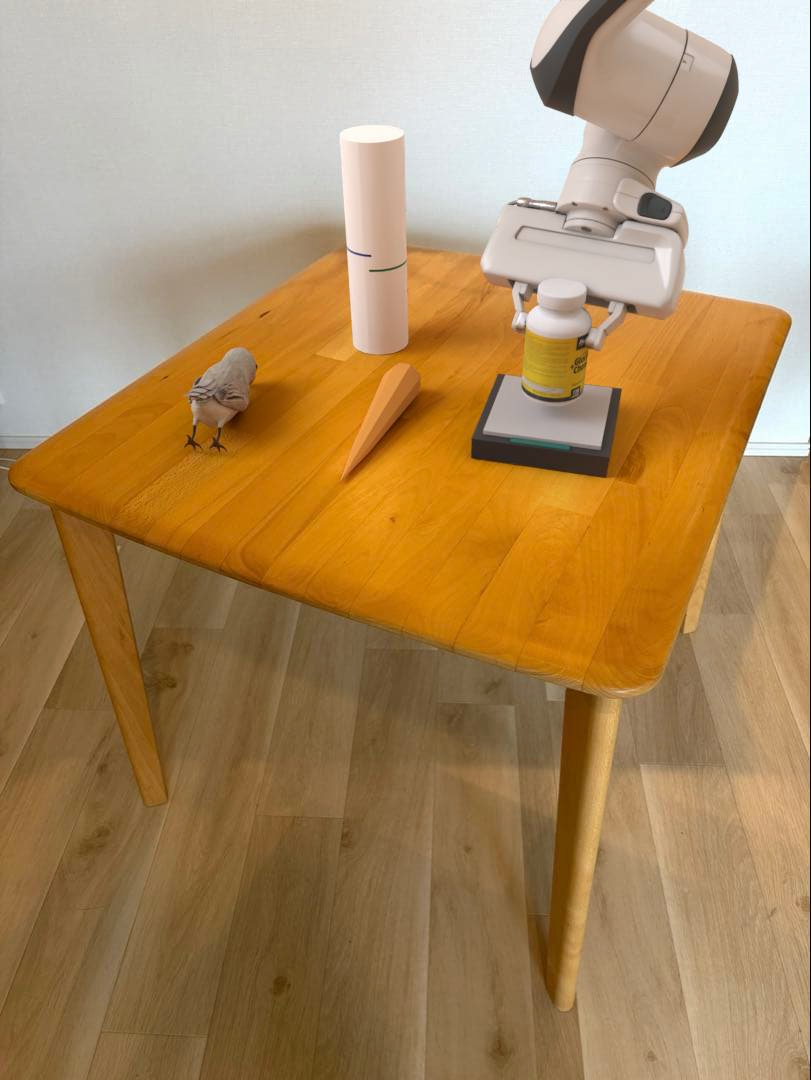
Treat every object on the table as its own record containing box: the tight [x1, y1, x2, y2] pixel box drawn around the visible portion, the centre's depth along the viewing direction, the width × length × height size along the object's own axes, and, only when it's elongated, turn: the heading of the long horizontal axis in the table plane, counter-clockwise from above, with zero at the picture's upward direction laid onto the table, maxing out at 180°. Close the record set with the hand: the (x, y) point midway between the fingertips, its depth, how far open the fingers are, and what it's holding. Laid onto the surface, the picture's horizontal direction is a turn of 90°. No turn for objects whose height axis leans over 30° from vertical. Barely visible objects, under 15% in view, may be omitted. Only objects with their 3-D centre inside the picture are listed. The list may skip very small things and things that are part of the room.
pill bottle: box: [521, 278, 593, 406], centre depth 86 cm, size 6×6×12 cm
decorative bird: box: [182, 346, 258, 454], centre depth 94 cm, size 5×16×8 cm, turn 170°
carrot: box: [339, 362, 422, 483], centre depth 92 cm, size 20×4×4 cm, turn 160°
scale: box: [470, 373, 623, 478], centre depth 92 cm, size 14×14×3 cm
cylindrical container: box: [339, 124, 409, 356], centre depth 102 cm, size 7×7×25 cm
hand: (555, 339), depth 85 cm, fingers closed on pill bottle, 6 cm apart
